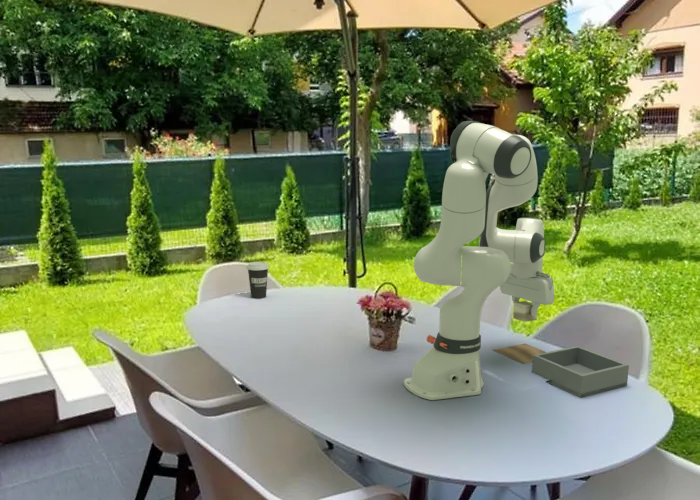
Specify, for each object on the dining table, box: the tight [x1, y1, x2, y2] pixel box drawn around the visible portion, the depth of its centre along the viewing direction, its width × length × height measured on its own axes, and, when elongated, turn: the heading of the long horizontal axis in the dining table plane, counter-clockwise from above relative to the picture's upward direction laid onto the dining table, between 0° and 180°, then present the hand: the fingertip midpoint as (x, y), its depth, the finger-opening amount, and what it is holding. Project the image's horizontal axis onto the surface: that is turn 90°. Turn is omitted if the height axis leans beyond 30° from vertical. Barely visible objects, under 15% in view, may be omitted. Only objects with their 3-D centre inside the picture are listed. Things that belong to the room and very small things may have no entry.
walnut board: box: [492, 343, 547, 365], centre depth 190 cm, size 14×14×1 cm
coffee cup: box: [246, 261, 270, 300], centre depth 263 cm, size 10×10×15 cm
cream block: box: [512, 300, 538, 323], centre depth 187 cm, size 5×5×5 cm
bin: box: [531, 345, 630, 399], centre depth 171 cm, size 18×18×6 cm
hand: (525, 313), depth 188 cm, fingers closed on cream block, 5 cm apart
